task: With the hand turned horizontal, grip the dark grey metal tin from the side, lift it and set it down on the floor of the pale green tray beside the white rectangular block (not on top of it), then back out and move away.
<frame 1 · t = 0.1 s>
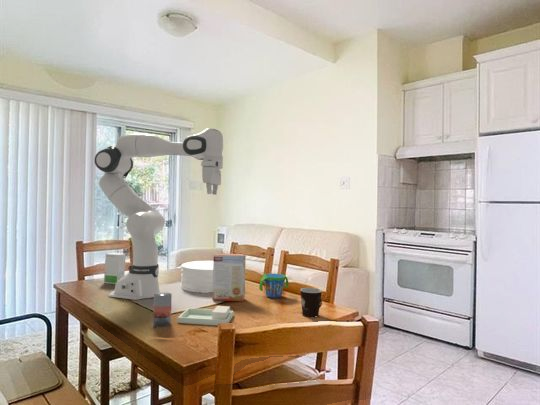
hand: (212, 194, 168), 48 cm above the table, tool pointing down, fingers open, 8 cm apart
snack cup: (273, 296, 175), on the table
tin: (161, 325, 130), on the table
pale green tray: (206, 320, 136), on the table
coffee mug: (310, 316, 146), on the table
plate stack: (208, 286, 193), on the table
white rectangular block: (220, 319, 136), point 1 cm above the table, touching pale green tray
skincare box: (114, 283, 194), on the table
cracker box: (228, 300, 167), on the table
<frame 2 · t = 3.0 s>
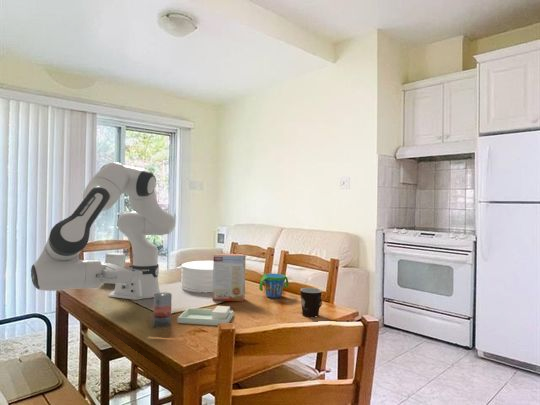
hand: (136, 271, 124), 20 cm above the table, tool horizontal, fingers open, 8 cm apart
nothing on the table moved.
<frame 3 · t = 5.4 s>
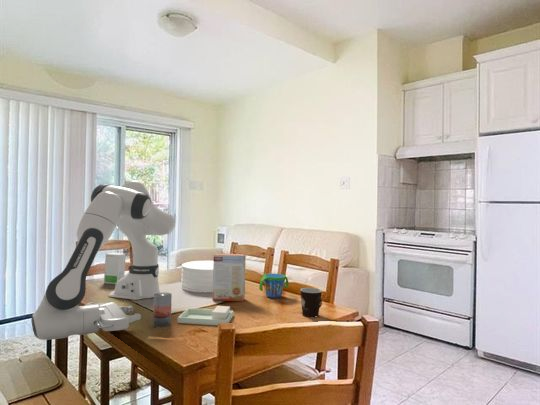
hand: (136, 312, 125), 6 cm above the table, tool horizontal, fingers open, 8 cm apart
nothing on the table moved.
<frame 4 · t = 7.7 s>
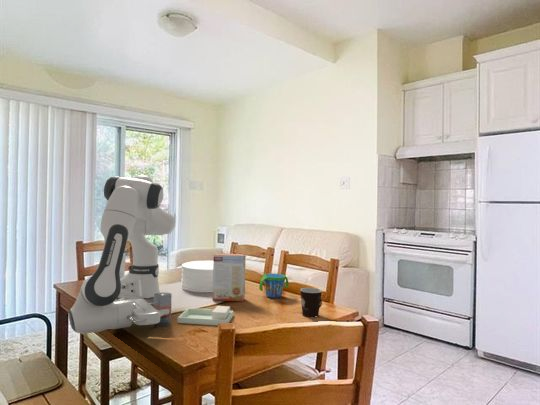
hand: (164, 308, 130), 6 cm above the table, tool horizontal, fingers closed on tin, 6 cm apart
tin: (161, 325, 130), on the table, touching gripper
everything else where it was.
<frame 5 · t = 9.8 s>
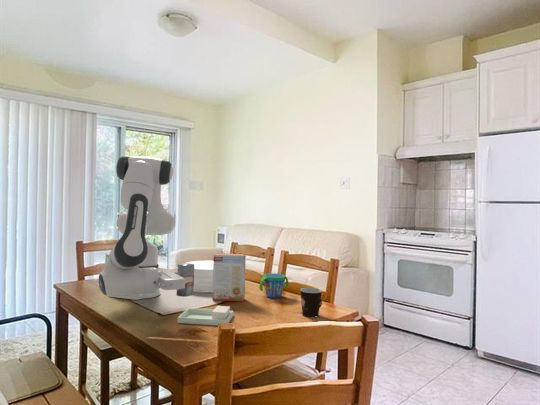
hand: (188, 276, 135), 16 cm above the table, tool horizontal, fingers closed on tin, 6 cm apart
tin: (184, 294, 135), point 10 cm above the table, touching gripper
everything else where it was.
when the fingers open (8 cm above the table, at t = 12.3 s): tin stays where it is, resting on pale green tray.
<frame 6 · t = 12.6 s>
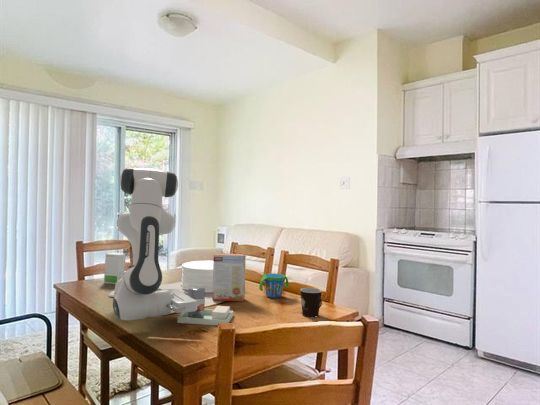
hand: (198, 297, 137), 8 cm above the table, tool horizontal, fingers open, 8 cm apart
tin: (195, 318, 137), point 1 cm above the table, touching pale green tray
everything else where it was.
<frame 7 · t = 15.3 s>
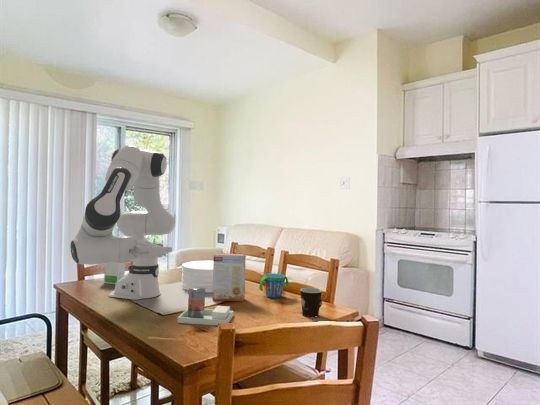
hand: (166, 247, 130), 28 cm above the table, tool horizontal, fingers open, 8 cm apart
nothing on the table moved.
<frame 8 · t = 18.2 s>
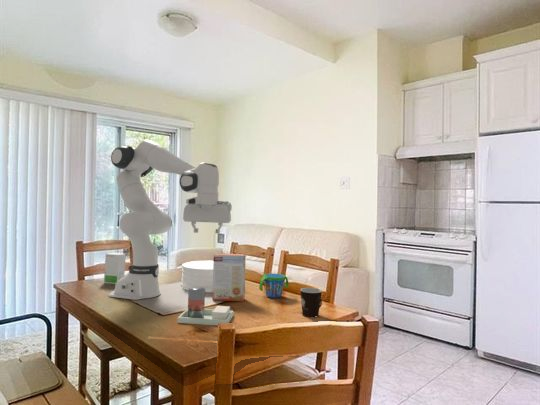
hand: (206, 233, 156), 31 cm above the table, tool pointing down, fingers open, 8 cm apart
nothing on the table moved.
at the end: tin inside the target area on the pale green tray (0.1 cm from its centre), point 0.6 cm above the pale green tray's base; tin tilted 1°; white rectangular block moved 0.1 cm from its start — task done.
